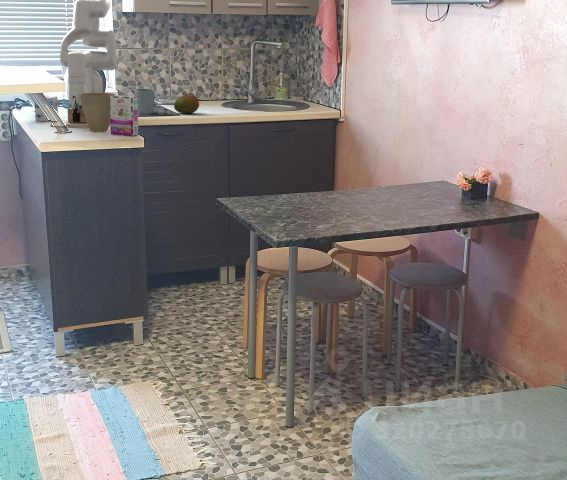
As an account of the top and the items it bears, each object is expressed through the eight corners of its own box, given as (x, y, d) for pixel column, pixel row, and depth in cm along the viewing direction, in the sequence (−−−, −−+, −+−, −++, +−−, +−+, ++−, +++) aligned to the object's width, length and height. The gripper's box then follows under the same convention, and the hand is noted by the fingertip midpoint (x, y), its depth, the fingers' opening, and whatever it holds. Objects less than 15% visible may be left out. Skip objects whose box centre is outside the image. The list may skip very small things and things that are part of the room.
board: (60, 122, 371) (60, 119, 371) (98, 124, 370) (98, 121, 370) (50, 126, 359) (50, 123, 359) (90, 128, 358) (90, 125, 358)
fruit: (201, 114, 420) (202, 95, 417) (179, 115, 414) (179, 95, 411) (193, 112, 430) (193, 93, 427) (171, 112, 424) (171, 93, 421)
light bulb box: (48, 121, 374) (47, 98, 371) (34, 120, 375) (33, 97, 372) (58, 119, 384) (57, 96, 381) (45, 118, 385) (44, 95, 382)
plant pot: (103, 127, 360) (102, 91, 356) (122, 131, 350) (122, 94, 346) (74, 130, 350) (73, 93, 345) (93, 134, 340) (92, 96, 336)
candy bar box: (139, 135, 342) (138, 96, 338) (132, 136, 338) (132, 97, 333) (116, 133, 346) (115, 94, 342) (109, 134, 341) (109, 95, 337)
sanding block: (71, 121, 367) (71, 107, 366) (88, 121, 367) (88, 108, 365) (68, 122, 363) (67, 108, 361) (85, 123, 362) (85, 109, 360)
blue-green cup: (145, 111, 426) (144, 88, 423) (158, 113, 420) (158, 89, 417) (131, 112, 418) (130, 89, 415) (145, 114, 412) (144, 90, 409)
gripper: (74, 78, 368) (76, 118, 373) (62, 81, 352) (64, 123, 357) (91, 79, 368) (92, 119, 373) (79, 82, 351) (80, 123, 356)
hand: (78, 120), depth 365 cm, fingers closed on sanding block, 5 cm apart
